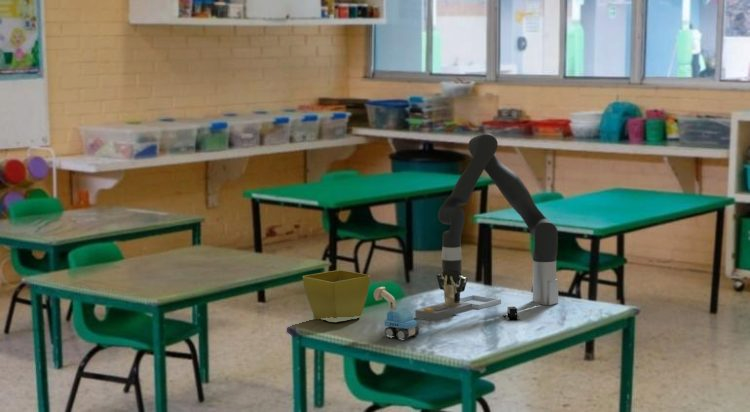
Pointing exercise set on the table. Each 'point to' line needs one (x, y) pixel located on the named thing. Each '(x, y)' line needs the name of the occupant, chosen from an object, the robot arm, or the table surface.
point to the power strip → (441, 311)
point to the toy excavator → (397, 317)
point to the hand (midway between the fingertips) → (452, 301)
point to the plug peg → (450, 296)
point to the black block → (512, 314)
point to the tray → (480, 301)
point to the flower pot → (336, 293)
